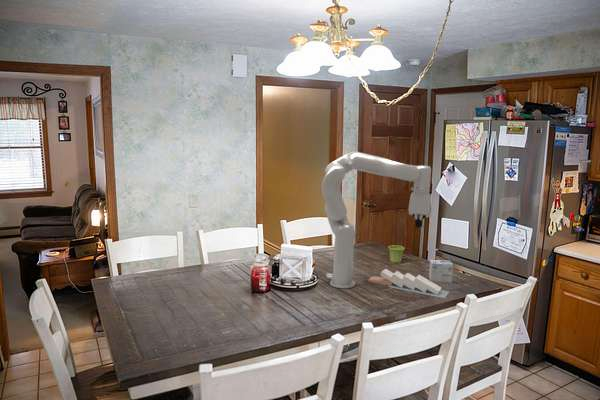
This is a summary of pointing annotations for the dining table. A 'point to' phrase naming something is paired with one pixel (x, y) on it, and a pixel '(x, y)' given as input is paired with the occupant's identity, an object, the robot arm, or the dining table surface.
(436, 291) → the domino
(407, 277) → the domino
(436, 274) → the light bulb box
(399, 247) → the plant pot
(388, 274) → the domino
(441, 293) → the board
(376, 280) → the domino
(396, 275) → the domino
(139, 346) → the dining table surface
